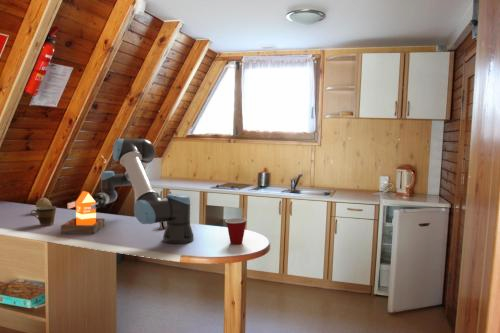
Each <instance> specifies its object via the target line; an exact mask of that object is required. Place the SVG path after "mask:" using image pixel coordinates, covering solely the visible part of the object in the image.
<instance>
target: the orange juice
mask: <svg viewBox="0 0 500 333" xmlns="http://www.w3.org/2000/svg"><path fill="white" fill-rule="evenodd" d="M92 196H93V195H91V193H90V192H88V191H85V190H82V192H81V193H80V195H79V196H78V198H77V199H76V200H77V201H76V206H75V218H76V225H93V224H94V223H96V218H97V208H96V209H94V210H91V205H92V204H96V202H95V200H94V199H93V198H92Z"/></svg>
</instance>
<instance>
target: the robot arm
mask: <svg viewBox="0 0 500 333" xmlns="http://www.w3.org/2000/svg"><path fill="white" fill-rule="evenodd" d="M155 157H156V148H155V145H154V144H153V143H152V141H150V140H148V139H145V138H117V139H115V141H114V142H113V146H112V158H113V161H115V162H119V164H120V165H121V167H123V168H125V172H124V173H115V171H113V170H105V171H104V170H103V171H102V172H101V173H100V186H101V192H98V193H96V194H94V195H91V196H92V198H93V199H94V200H95V202H96V204H92V205H91V210H94V209H96V210H97V209H99V208H106V205H108V204H110V203H111V204H112V203H113V202H115V201H116V200H117V198H118V193H117V191H116V190H115V187H125V186H132V188H133V191H134V193H135V195H136V199H135V203H134V207H133V208H134V209H133V210H134V215H135V217H136V219H137V221H138V222H139V223H140V224H142V225H152V224H157V223H158V224H159V222H165V221H167V226H166V228H164V233H163V236H162V241H163V242H164V243H167V244H173V245H179V244H181V245H182V244H188V243H190V242H193V241H194V239H195V238H194V232H193V229H192V226H191V198H190V197H189V196H188V195H185V194H179V193H167V194H166V196H165V197H160V194H159V192H157V191H155V190H154V188H153V185H152V184H151V182H150V179H149V177H148V175H147V172H146V170H145V167H146V166H147V165H148V164H150V163H151V162H153V160H154V159H155ZM76 201H77V199H76V200H70V201H69V202H68V203H67V204H66V206H67V208H66V209H67V210H69V209H73V208H76Z"/></svg>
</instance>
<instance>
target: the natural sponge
mask: <svg viewBox="0 0 500 333" xmlns="http://www.w3.org/2000/svg"><path fill="white" fill-rule="evenodd" d="M42 206H53V205H52V202H51V200H49V199H48V198H46V197H41V198H39V199H38V200H37V201H36V203H35V207H36V208H38V207H42Z"/></svg>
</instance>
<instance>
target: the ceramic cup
mask: <svg viewBox="0 0 500 333" xmlns="http://www.w3.org/2000/svg"><path fill="white" fill-rule="evenodd" d="M56 210H57V206H55V205H52V206H42V207H38V208H37V207H36V209H32V210H31V211H30V215H32V216H33V217H35V218H36V219H38V221H39V225H40V227H51V226H53V225H54V222H55V215H56V213H57V212H56ZM32 212H35V213H36V214H37V216H36V215H34V214H33V213H32Z"/></svg>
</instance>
